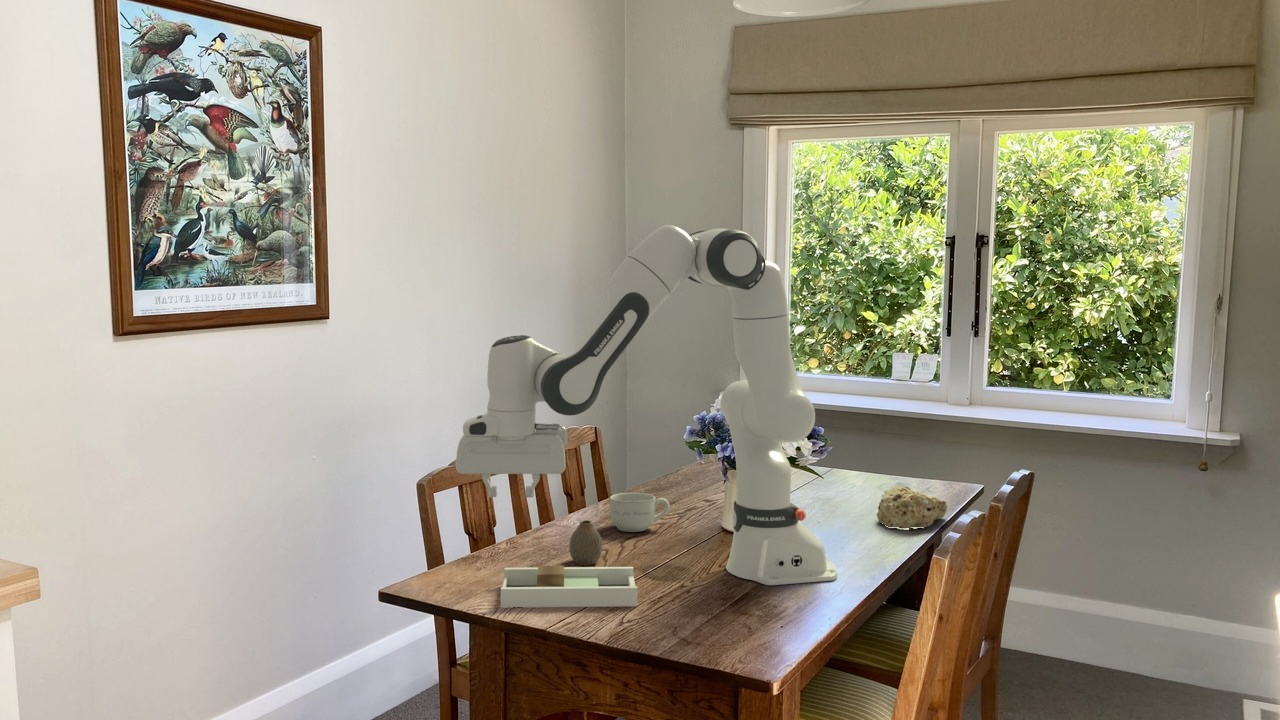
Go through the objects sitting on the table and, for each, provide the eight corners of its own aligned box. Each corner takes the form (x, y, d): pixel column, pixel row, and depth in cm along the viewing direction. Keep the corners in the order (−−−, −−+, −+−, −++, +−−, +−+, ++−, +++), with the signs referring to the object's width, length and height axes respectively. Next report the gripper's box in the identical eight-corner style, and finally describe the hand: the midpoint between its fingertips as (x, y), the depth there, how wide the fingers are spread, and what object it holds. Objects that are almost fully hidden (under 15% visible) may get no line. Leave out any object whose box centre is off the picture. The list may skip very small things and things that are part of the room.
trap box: (632, 584, 191) (633, 566, 191) (637, 606, 180) (637, 587, 179) (504, 585, 189) (504, 567, 189) (500, 607, 178) (500, 589, 177)
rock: (890, 511, 253) (903, 475, 251) (944, 534, 245) (957, 497, 244) (863, 520, 235) (876, 482, 234) (920, 545, 228) (934, 505, 226)
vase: (572, 568, 200) (573, 527, 199) (566, 558, 206) (566, 518, 205) (605, 566, 202) (606, 525, 201) (597, 556, 208) (598, 516, 207)
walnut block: (564, 580, 187) (564, 565, 186) (564, 589, 182) (564, 574, 181) (537, 581, 186) (537, 565, 186) (537, 590, 181) (537, 574, 181)
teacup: (604, 533, 225) (604, 499, 224) (616, 521, 236) (616, 488, 235) (662, 538, 222) (663, 504, 221) (672, 525, 232) (673, 493, 232)
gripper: (567, 420, 184) (567, 492, 185) (458, 420, 182) (458, 492, 184) (567, 426, 178) (567, 500, 179) (454, 426, 176) (454, 501, 178)
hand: (511, 496), depth 182 cm, fingers open, 5 cm apart
